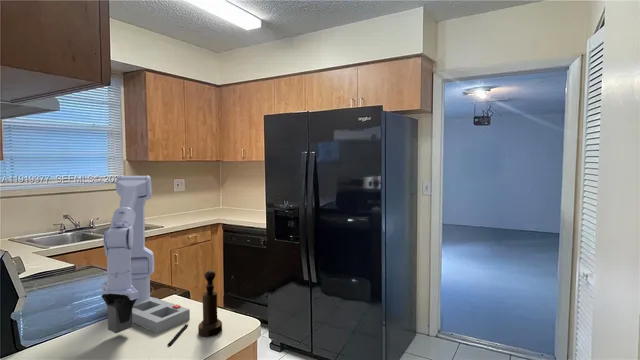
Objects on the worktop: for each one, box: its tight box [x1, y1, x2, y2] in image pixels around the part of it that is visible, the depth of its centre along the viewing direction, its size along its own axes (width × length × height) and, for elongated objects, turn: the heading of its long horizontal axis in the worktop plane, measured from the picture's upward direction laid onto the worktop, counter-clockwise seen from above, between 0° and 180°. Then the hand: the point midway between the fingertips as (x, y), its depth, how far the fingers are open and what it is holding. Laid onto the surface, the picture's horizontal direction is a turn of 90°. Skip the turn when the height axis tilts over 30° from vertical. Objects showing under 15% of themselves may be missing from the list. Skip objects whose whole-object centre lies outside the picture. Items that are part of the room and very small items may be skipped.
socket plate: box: [132, 297, 191, 333], centre depth 110 cm, size 18×11×4 cm, turn 59°
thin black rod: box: [167, 323, 189, 347], centre depth 100 cm, size 12×1×1 cm, turn 179°
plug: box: [107, 303, 133, 334], centre depth 99 cm, size 4×4×7 cm
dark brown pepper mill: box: [197, 268, 223, 338], centre depth 101 cm, size 7×6×18 cm
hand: (120, 319), depth 99 cm, fingers closed on plug, 4 cm apart
